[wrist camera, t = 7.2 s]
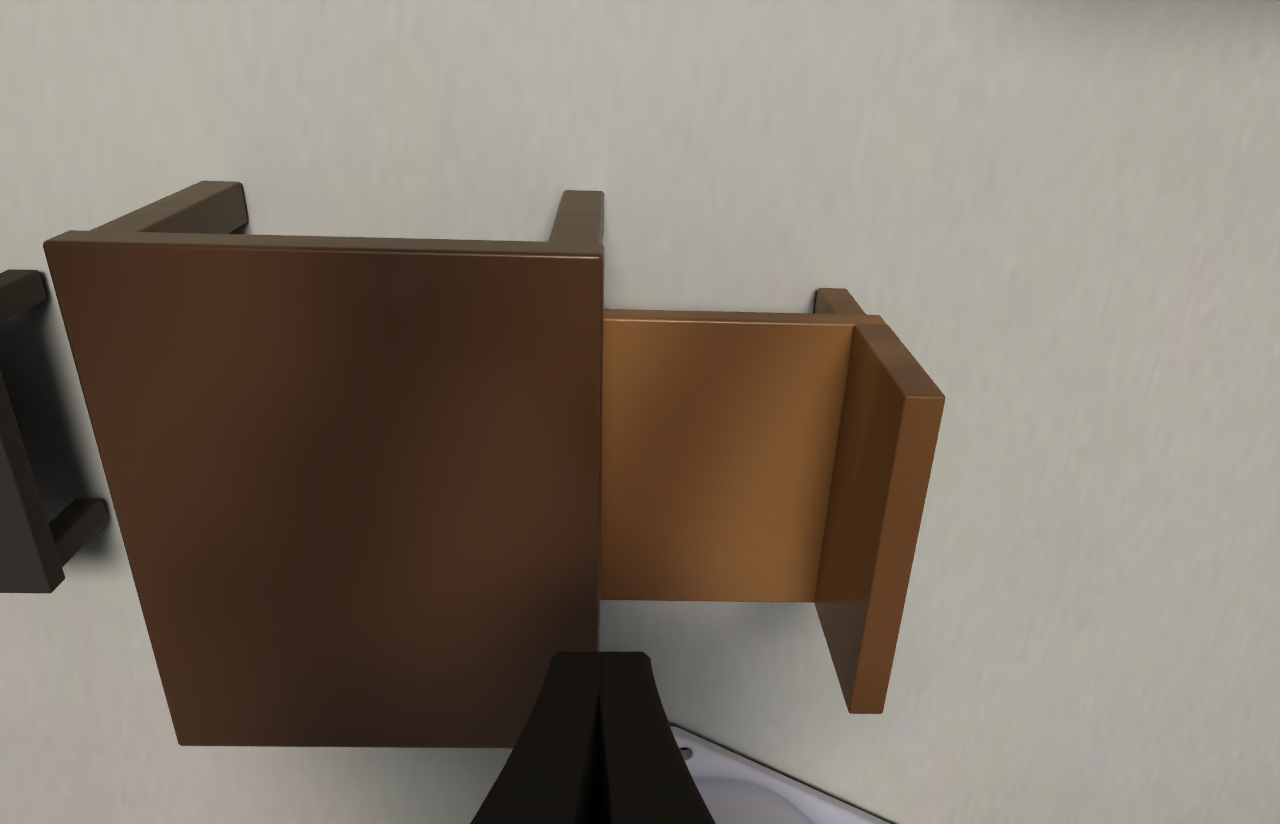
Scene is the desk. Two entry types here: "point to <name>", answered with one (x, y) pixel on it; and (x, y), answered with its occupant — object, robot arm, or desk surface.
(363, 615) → the dining table
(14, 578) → the black chair
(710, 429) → the oak chair
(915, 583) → the desk surface
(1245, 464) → the desk surface
